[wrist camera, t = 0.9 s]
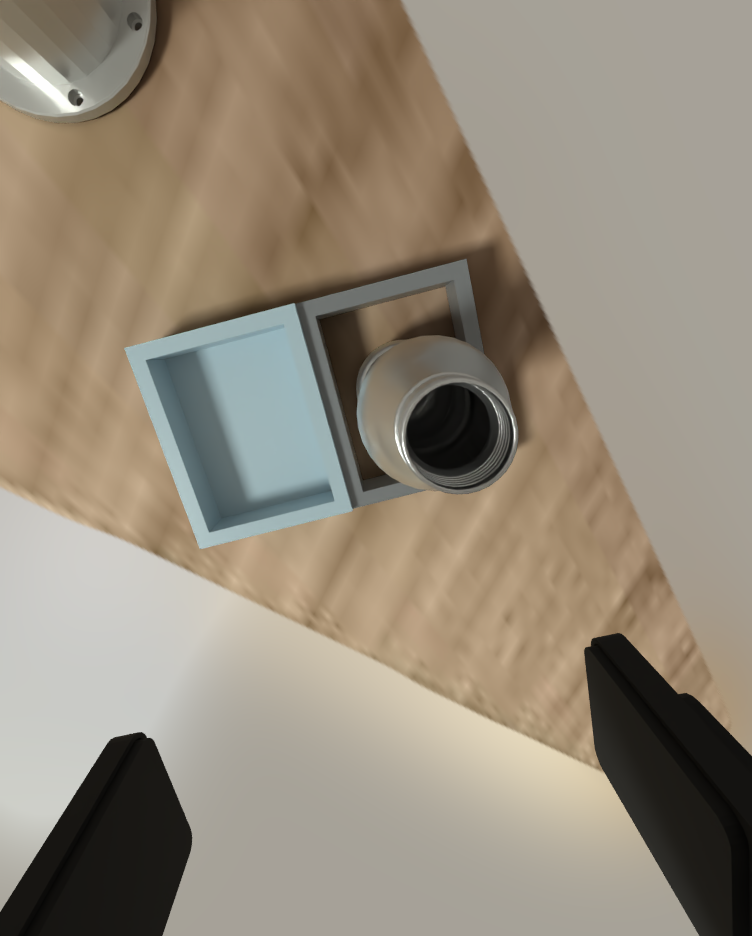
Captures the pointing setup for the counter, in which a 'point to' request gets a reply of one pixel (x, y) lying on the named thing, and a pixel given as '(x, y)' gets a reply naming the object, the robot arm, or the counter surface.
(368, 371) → the plastic bottle
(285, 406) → the bin
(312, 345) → the bin
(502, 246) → the counter surface
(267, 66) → the counter surface
